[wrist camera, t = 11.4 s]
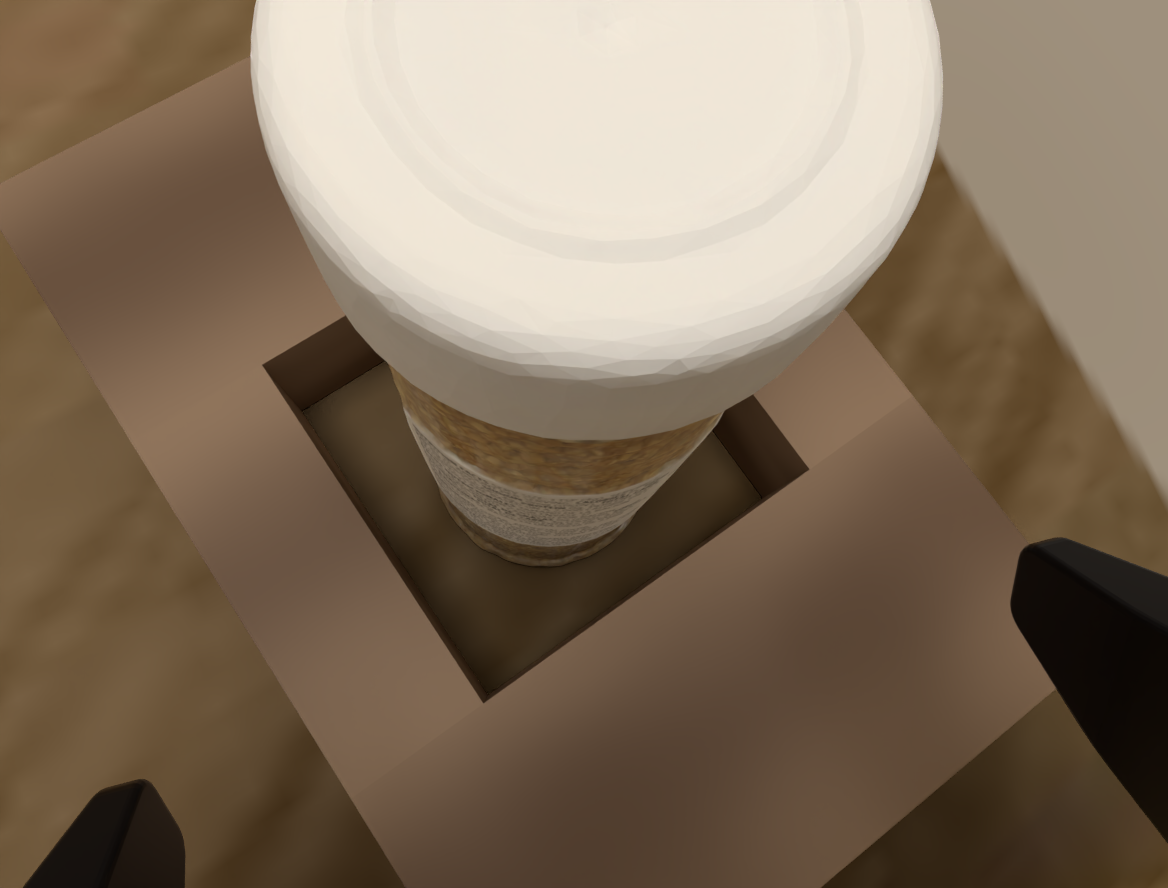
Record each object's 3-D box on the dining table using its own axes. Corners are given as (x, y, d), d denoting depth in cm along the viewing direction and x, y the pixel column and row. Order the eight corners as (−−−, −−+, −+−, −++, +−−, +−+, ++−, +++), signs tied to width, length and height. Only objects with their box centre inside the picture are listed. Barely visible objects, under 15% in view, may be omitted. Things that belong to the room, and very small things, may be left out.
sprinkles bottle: (498, 326, 19) (464, -380, 6) (685, 420, 19) (1070, -94, 6) (393, 510, 18) (69, 138, 5) (590, 612, 18) (801, 508, 5)
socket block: (1013, 646, 18) (1107, 644, 15) (540, 1034, 16) (547, 1118, 13) (529, 14, 21) (532, -89, 18) (61, 265, 19) (-22, 194, 16)
